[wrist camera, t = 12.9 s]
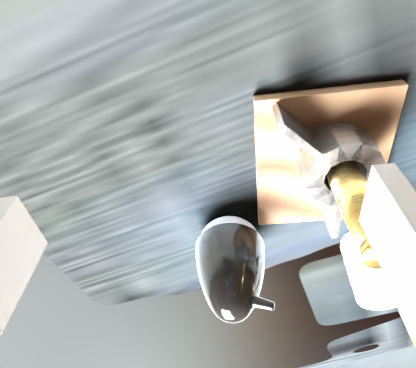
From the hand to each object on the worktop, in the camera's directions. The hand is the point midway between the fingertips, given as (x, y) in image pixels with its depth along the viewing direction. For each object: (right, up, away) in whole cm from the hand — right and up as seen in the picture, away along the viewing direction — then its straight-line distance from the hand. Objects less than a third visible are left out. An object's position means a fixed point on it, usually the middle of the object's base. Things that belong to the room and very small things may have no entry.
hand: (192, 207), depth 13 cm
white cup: (+25, -8, +41) cm, 49 cm away
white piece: (+15, +4, +29) cm, 33 cm away
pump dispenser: (+4, -6, +40) cm, 40 cm away
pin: (+16, +5, +28) cm, 33 cm away
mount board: (+15, +4, +31) cm, 35 cm away
